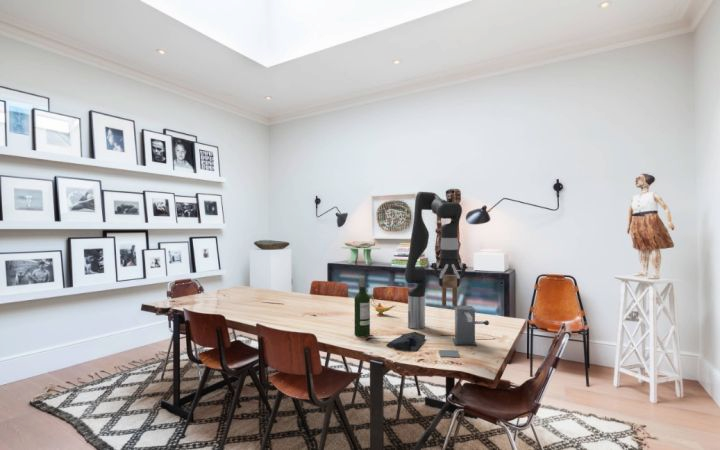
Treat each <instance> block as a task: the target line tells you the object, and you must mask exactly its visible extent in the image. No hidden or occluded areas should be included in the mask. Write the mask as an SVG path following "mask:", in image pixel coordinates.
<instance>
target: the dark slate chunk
mask: <svg viewBox="0 0 720 450" xmlns="http://www.w3.org/2000/svg"><path fill="white" fill-rule="evenodd" d="M425 338H426V335H425V334H423V333H420V332H417V331H412V332H406V333H403V334H401V335H400V336H399V337H397V338H395V339H392V340H391V341H390V342H388V343H386V346H385V347H387V348H389V349H395V350H398V351H404V352H417V351H418V349H420V348H421V346H422V345H423V342H424V340H425Z"/></svg>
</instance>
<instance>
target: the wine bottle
mask: <svg viewBox="0 0 720 450" xmlns="http://www.w3.org/2000/svg"><path fill="white" fill-rule="evenodd" d="M358 278H359V284H358V285H359V288H358V293H357V294H355V296H354V335H355V336H356V337H359V338H362V337H363V338H364V337H365V338H366V337H369V336H370V334H371V298H370V295H369V294H368V293H367V292H366V281H365V280H366V277H365V275H359V277H358Z"/></svg>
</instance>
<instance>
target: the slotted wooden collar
mask: <svg viewBox="0 0 720 450" xmlns="http://www.w3.org/2000/svg"><path fill="white" fill-rule="evenodd" d="M442 279H443V287H441V305H442V307H447V289H451V291H452V292H451V295H452V296H451V298H452V300H451V301H452V302H451V303H452V306H453V307H454V308H455V307H457V305H458V287H457V276H456V275H455V274H444V275H443V277H442Z"/></svg>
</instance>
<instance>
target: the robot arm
mask: <svg viewBox="0 0 720 450" xmlns="http://www.w3.org/2000/svg"><path fill="white" fill-rule="evenodd" d="M423 210H425V211H433V212H434V213H435V214H436V215H437V217H438V218H440V219H442V220H443V219H450V220H451V221H450V222H449V223H444V224H442V225H441V227H440V234H441V235H440V246H439V248H440V260H439V262H433V263H432V264H433V265H432V266H433V272H434V277H436V278H438V285H439V286H440V287H441V288H442V287H443V279H442V277H443V275H445V274H446V273H447V272H451V273H454V275H456V276H457V288H459V287H460V286H461V285H460V284H461V280H460V279H461V278H464V277H465V274H466V268H467V267H466V266H467V264H466V263H463V262H460V261H459V238H458V237H459V235H458V234H459V233H458V231H459V229H458V228H459V224H460V220H461V216H462V213H463V208H462V205H461V204H460V203H459V202H449V201H447V200H445V199H443V198H441V197H440V196H439V195H438V194H437V193H436V192H432V191H430V192H428V191H418V192H417V194H416V196H415V200H414V213H413V222H412V229H411V235H410V244H409V251H408V252H409V253H408V258H407V261H406V266H405V272H404V278H405V280H404V281H405V282H406V283H407V284H415V286H413V287H412V288H410V289H408V291H407V328H409V329H416V330H417V329H418V330H419V329H424V328H425V327H426V306H425V305H426V290H427V289H426V288H427V270H426V268H425V267H424V266H423V265H422V266H420V265H418V266H416V264H417V262H418V260H419V259H420V257H421V256H422V255H423V254H424V253H425V251H426V249H427V248H428V244H429V239H430V237H429V236H430V232H429V229H428V228H427V226H426V224H425V222H424V219H423V216H422V215H423ZM439 266H440V267H441V270H440V272H439V273H438V268H439ZM458 267H460V269H461V271H460V274H459V272H458V270H457V268H458Z"/></svg>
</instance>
